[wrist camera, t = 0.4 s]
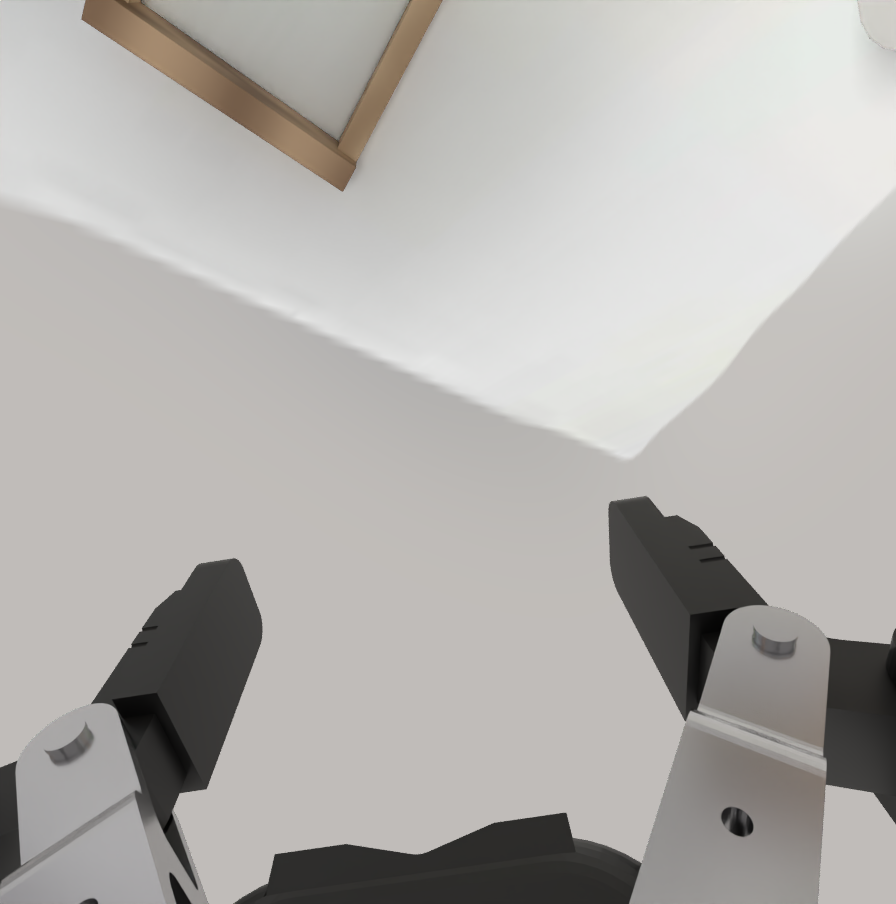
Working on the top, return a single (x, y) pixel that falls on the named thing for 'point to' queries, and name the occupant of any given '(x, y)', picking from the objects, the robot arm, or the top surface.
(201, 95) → the open wooden frame
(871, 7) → the base with upright slab
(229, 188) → the top surface
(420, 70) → the top surface
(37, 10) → the top surface
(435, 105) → the top surface
